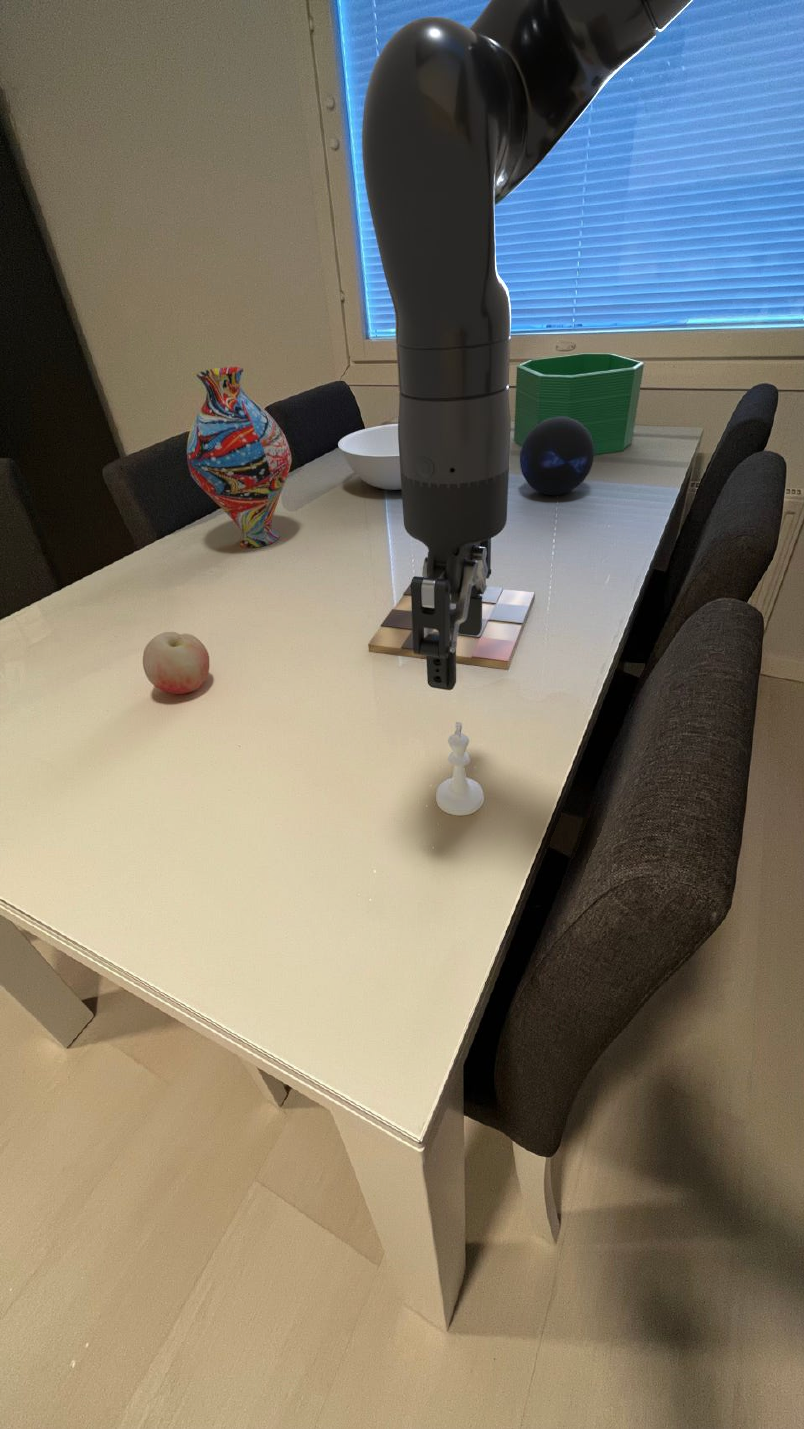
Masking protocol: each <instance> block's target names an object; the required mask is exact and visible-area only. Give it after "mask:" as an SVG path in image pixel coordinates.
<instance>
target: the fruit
mask: <svg viewBox="0 0 804 1429" xmlns="http://www.w3.org/2000/svg"><path fill="white" fill-rule="evenodd" d="M142 654H143V655H142V668H143V671H144V674H145V676H146V678H147V679H148V680H147V681H149V682H150V684H152V685H153V686H154V687H155V688H157V689H159V690H160V691H162V692H164V693H167V694H172V695H173V694H174V695H183V694H188V693H192V692H194V691H196V690H198V689H199V688H201V686H202V685H203V684H204V683H205V681H206V679H207V677H208V675H209V671H210V665H211V664H210V655H209V651H208V650H207V647H206V645H205V644H204V643H203V642H202V641H201V640H200V639H199V638H198V637H197V636H194V635H193V634H190V633H179V632H175V631H165V632H162V633H159V634H157V635H156V636H154V637H153V638H152V639H150V640H149V641H148V643H147V644H146V646H145V647H144V650H143V653H142Z"/></svg>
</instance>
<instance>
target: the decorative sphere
mask: <svg viewBox="0 0 804 1429" xmlns="http://www.w3.org/2000/svg"><path fill="white" fill-rule="evenodd" d="M594 459H595V455H594V444H593V440H592V437H591V435H590V433H589V432H588V430H587V429H586V428H585V427H584V426H583V425H582V424H581V423H580V422H578V421H577V420H574V419H572V418H569V417H552V418H549V419H546V420H544V421H542V422H541V423H539V424H538V425H536V426H535V427H534V428H533V429H532V430H531V431H530V432H529V434H528V435H527V437H526V438H525V440H524V442H523V445H522V446H521V448H520V453H519V466H520V472H521V474H522V476H523V478H524V479H525V482H527V484H528V485H529V486H530V487H531V488H532V489H533V490H535V491H537V492H538V493H541V494H544V495H549V496H559V495H564V494H566V493H569V492H572V491H573V490H574V489H576V488H578V486H580V485H581V484H583V482H584V481H585V479H586V478H587V477H588V475H589V474H590V472H591V470H592V467H593V465H594Z"/></svg>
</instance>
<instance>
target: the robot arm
mask: <svg viewBox="0 0 804 1429" xmlns="http://www.w3.org/2000/svg"><path fill="white" fill-rule="evenodd" d="M693 1H694V0H490V1H489V2H488V3H487V5H486V6H485V8H484V9H483V11H482V12H481V14H479V15H478V17H477V18H476V20H475V21H473V23H472V24H471V25H470V27H467V26H466V25H465V24H464V25H463V23H462V24H461V23H460V22H458V21H456V20H453V19H451V18H448V17H444V16H424V17H420V18H415V19H414V20H412V21H410V22H407V23H406V24H404V25H403V26H401V28H399V29H398V30H397V31H396V32H395V33H394V34H393V35H392V36H391V37H390V39H389V40H388V41H387V42H386V44H385V45H384V47H383V48H382V50H381V51H380V53H379V55H378V57H377V59H376V61H375V63H374V65H373V68H372V71H371V74H370V76H369V80H368V85H367V89H366V93H365V98H364V104H363V105H364V106H363V115H362V126H361V127H362V128H361V151H362V152H361V154H362V155H361V156H362V167H363V177H364V184H365V191H366V196H367V202H368V207H369V212H370V216H371V221H372V225H373V229H374V234H375V238H376V243H377V248H378V252H379V256H380V261H381V265H382V269H383V274H384V278H385V281H386V284H387V288H388V292H389V295H390V299H391V303H392V306H393V310H394V316H395V348H396V349H395V350H396V366H397V382H398V391H399V393H398V417H397V424H398V442H399V458H400V474H401V489H402V490H401V504H402V518H403V528H404V529H405V531H406V533H407V534H408V535H409V536H410V537H411V538H413V539H414V540H418V541H419V542H421V543H422V544H423V545H424V546H426V548H427V550H428V552H427V556H425V557H424V560H423V566H422V571H421V572H422V573H421V575H422V576H416V575H414V576H413V577H412V579H411V582H410V584H411V585H410V584H409V585H410V587H411V604H412V630H413V652H414V654H418V655H425V656H426V659H425V660H426V678H427V679H426V680H427V685H428V686H429V687H430V688H433V689H437V690H438V689H439V690H445V691H451V690H453V689H454V688H455V686H456V684H457V663H456V647H457V637H458V633H460V634H465V635H473V636H477V635H479V633H480V631H481V629H482V596H480V594H484V592H485V591H486V587H487V580H488V579H489V580H490V576H491V575H492V565H491V564H492V539H493V538H494V537H496V536H497V535H499V534H500V533H502V531H503V530H504V529H505V527H506V526H507V521H508V499H509V480H510V478H509V476H510V458H511V457H510V455H511V454H510V452H511V433H512V432H511V431H512V426H511V425H512V423H511V422H512V421H511V407H510V397H509V396H510V395H509V393H510V392H509V388H510V387H509V384H510V364H511V363H510V362H511V361H510V360H511V335H512V330H511V329H512V309H511V300H510V293H509V292H510V291H509V289H508V287H507V284H505V282H504V281H503V278H501V277H500V275H499V274H498V269H497V261H496V260H497V258H496V257H497V256H496V219H495V217H496V216H495V207H496V206H497V205H498V204H499V203H501V202H502V201H503V200H504V199H506V198H507V197H508V196H509V195H510V194H511V193H512V192H514V191H515V190H516V189H517V188H518V187H519V186H520V185H521V184H522V183H523V182H524V181H525V180H526V179H527V178H528V177H529V175H531V174H532V172H533V171H535V169H536V168H537V167H538V166H539V165H540V164H541V163H542V162H543V161H544V159H545V158H546V157H547V156H548V155H549V154H550V152H551V151H552V150H553V149H554V148H555V146H556V145H557V144H558V143H559V142H560V141H561V139H562V138H563V137H564V136H565V134H566V133H567V132H568V131H569V130H570V128H572V126H573V125H574V124H575V122H576V121H577V120H579V118H580V117H581V115H583V113H584V112H585V111H586V109H587V108H588V107H589V105H590V104H591V103H592V101H593V100H594V99H595V98H596V96H597V95H598V93H600V91H601V90H602V89H603V87H604V86H605V85H606V84H607V83H608V82H609V80H611V78H613V76H614V75H615V74H616V73H617V72H619V70H621V68H622V67H623V66H625V65H626V64H627V63H628V62H629V61H630V60H631V59H633V58H634V57H635V56H637V55H638V54H639V53H640V52H641V51H642V50H643V49H644V48H645V47H646V46H648V45H649V44H650V43H651V42H652V41H653V40H654V39H655V38H656V37H657V35H658V32H663V31H664V30H665V29H666V28H667V27H668V26H669V25H670V24H671V23H672V22H673V21H674V20H675V19H676V18H677V17H678V16H679V15H680V14H681V13H682V12H683V11H684V10H685V9H686V8H687V7H688V6H689V5H690V4H691V3H692V2H693ZM450 603H451V604H456V608H455V609H450ZM434 629H436V630H437V631H438V632H439V635H437V634H433V630H434Z"/></svg>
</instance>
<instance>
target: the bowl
mask: <svg viewBox="0 0 804 1429" xmlns="http://www.w3.org/2000/svg"><path fill="white" fill-rule="evenodd" d="M337 446H338V448H339V449H340V450H341V451H342V453H343V456H344V458H345V460H346V462H347V464H348V465H349V467H350V469H351V470H352V471H353V473H354V474H355V475H356V476H357V477H358V478H359V479H361V480H362V481H363V482H364V483H366V484H368V485H370V486H372V487H374V488H378V489H381V490H389V491H390V490H391V491H400V490H401V491H402V489H401V474H400V458H399V442H398V423H391V424H384V425H378V426H372V427H367V428H363V429H360V430H356V431H354V432H351V433H349V434H346V435H345V436H343V437H342V438H341V439H340V440H339V441H338V443H337Z"/></svg>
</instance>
